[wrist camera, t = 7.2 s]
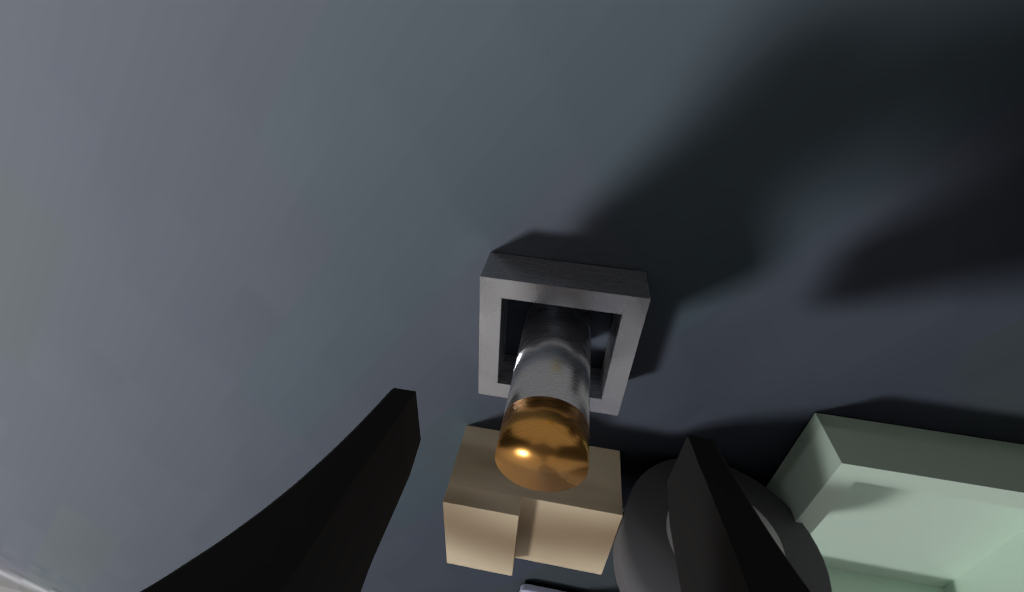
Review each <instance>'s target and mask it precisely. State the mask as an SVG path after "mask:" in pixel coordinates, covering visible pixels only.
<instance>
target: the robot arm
mask: <svg viewBox="0 0 1024 592" xmlns="http://www.w3.org/2000/svg"><path fill="white" fill-rule="evenodd" d="M420 440H421V438H420V428H419V418H418V409H417V399H416V391H410V390H403V389H397V388H394V389H392V390H391V391H390V392H389V393H388V394H387V395H386V396H385V397H384V398H383V399H382V400H381V402H380V403H379V404H378V405H377V406H376V407H375V408H374V409H373V410H372V411H371V412H370V413H369V414H368V415H367V416H366V417H365V419H364V420H363V421H362V422H361V423H360V424H359V425H358V426H357V427H356V428H355V429H354V430H353V431H352V432H351V433H350V434H349V435H348V436H347V437H346V438H345V439H344V440H343V441H342V442H341V443H340V444H339V445H337V446H336V447H335V448H334V449H333V450H332V451H331V452H330V453H329V454H328V455H327V456H326V457H325V458H324V459H323V460H321V461H320V462H319V463H318V464H317V465H316V466H315V467H314V468H313V469H311V470H310V471H309V472H308V473H307V474H306V475H305V476H304V477H303V478H301V479H300V480H299V481H298V482H297V483H296V484H294V485H293V486H292V487H291V488H290V489H288V490H287V491H286V492H285V493H284V494H282V495H281V496H280V497H279V498H277V499H276V500H275V501H273V502H272V503H271V504H270V505H268V506H267V507H266V508H265V509H263V510H262V511H261V512H259V513H258V514H257V515H255V516H254V517H253V518H251V519H250V520H249V521H247V522H246V523H244V524H243V525H242V526H240V527H239V528H238V529H236V530H235V531H234V532H232V533H231V534H229V535H228V536H227V537H225V538H224V539H222V540H221V541H219V542H218V543H216V544H215V545H214V546H212V547H211V548H209V549H207V550H206V551H204V552H203V553H201V554H200V555H198V556H197V557H195V558H194V559H192V560H190V561H189V562H187V563H186V564H184V565H183V566H181V567H180V568H178V569H177V570H175V571H173V572H172V573H170V574H169V575H167V576H166V577H164V578H162V579H161V580H159V581H158V582H156V583H154V584H153V585H151V586H149V587H148V588H146V589H144V590H142V591H141V592H361V589H362V586H363V583H364V581H365V578H366V575H367V572H368V570H369V567H370V565H371V562H372V560H373V557H374V555H375V553H376V551H377V548H378V546H379V544H380V541H381V539H382V537H383V535H384V532H385V530H386V528H387V526H388V523H389V521H390V519H391V517H392V514H393V512H394V510H395V508H396V505H397V503H398V501H399V498H400V496H401V494H402V492H403V489H404V487H405V485H406V482H407V480H408V478H409V475H410V472H411V469H412V466H413V463H414V460H415V457H416V453H417V450H418V447H419V443H420ZM667 491H668V509H669V523H670V530H671V536H672V541H673V547H674V553H675V559H676V565H677V570H678V576H679V582H680V587H681V592H811V591H810V590H809V588H808V587H807V586H806V584H805V583H804V582H803V580H802V579H801V577H800V576H799V575H798V573H797V572H796V570H795V569H794V568H793V566H792V565H791V563H790V562H789V561H788V559H787V558H786V556H785V555H784V553H783V552H782V550H781V549H780V548H779V546H778V545H777V543H776V542H775V540H774V539H773V537H772V536H771V534H770V533H769V531H768V529H767V528H766V526H765V525H764V523H763V522H762V520H761V519H760V517H759V516H758V514H757V512H756V511H755V509H754V508H753V506H752V505H751V503H750V501H749V500H748V498H747V496H746V495H745V493H744V491H743V490H742V488H741V487H740V485H739V483H738V482H737V480H736V478H735V476H734V475H733V473H732V471H731V470H730V468H729V466H728V465H727V463H726V461H725V459H724V458H723V456H722V454H721V452H720V451H719V449H718V447H717V445H716V444H715V442H714V441H713V440H712V439H707V438H701V437H695V436H688V435H687V438H686V440H685V442H684V445H683V447H682V449H681V451H680V454H679V456H678V458H677V461H676V463H675V465H674V467H673V470H672V472H671V474H670V477H669V479H668V481H667ZM520 592H565V591H560V590H555V589H550V588H545V587H541V586H536V585H531V584H523V585H521V587H520Z"/></svg>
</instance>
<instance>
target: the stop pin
mask: <svg viewBox="0 0 1024 592" xmlns="http://www.w3.org/2000/svg"><path fill="white" fill-rule="evenodd" d="M590 361H591V318H590V315H589V313H588V311H587V310H586V309H578V308H571V307H564V306H556V305H549V304H542V303H534V304H533V305H532V306H531V307H530V308H529V310H528V312H527V315H526V319H525V324H524V328H523V332H522V337H521V341H520V346H519V350H518V355H517V359H516V363H515V368H514V372H513V377H512V381H511V386H510V390H509V395H508V399H507V403H506V408H505V412H504V417H503V421H502V426H501V430H500V434H499V439H498V443H497V448H496V452H495V461H496V465H497V467H498V469H499V470H500V471H501V473H502V474H503V475H504V476H505V477H506V478H508V479H509V480H511V481H512V482H514V483H515V484H518V485H520V486H522V487H525V488H528V489H531V490H535V491H541V492H559V491H565V490H568V489H571V488H573V487H575V486H577V485H579V484H580V483H581V482H582V481H583V480H584V479H585V478H586V476H587V474H588V469H589V416H590Z"/></svg>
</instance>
